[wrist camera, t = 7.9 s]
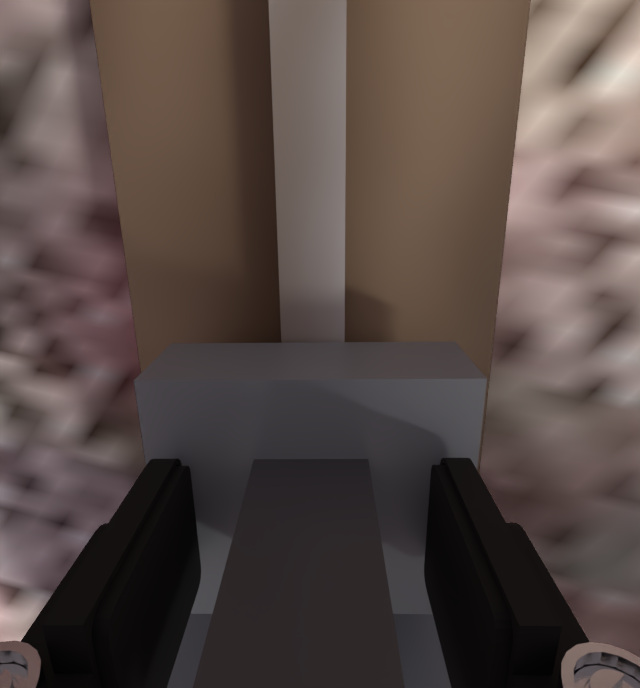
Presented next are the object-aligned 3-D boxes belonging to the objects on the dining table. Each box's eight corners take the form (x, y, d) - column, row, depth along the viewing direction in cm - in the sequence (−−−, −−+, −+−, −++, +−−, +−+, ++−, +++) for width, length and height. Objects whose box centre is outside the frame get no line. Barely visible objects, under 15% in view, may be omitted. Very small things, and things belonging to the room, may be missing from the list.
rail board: (557, -516, 9) (761, -1132, 5) (459, 512, 17) (505, 623, 12) (52, -499, 9) (-179, -1086, 5) (178, 513, 17) (127, 622, 12)
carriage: (445, 330, 12) (658, 576, 4) (430, 518, 14) (564, 931, 6) (183, 332, 13) (-68, 577, 5) (202, 519, 14) (49, 926, 6)
